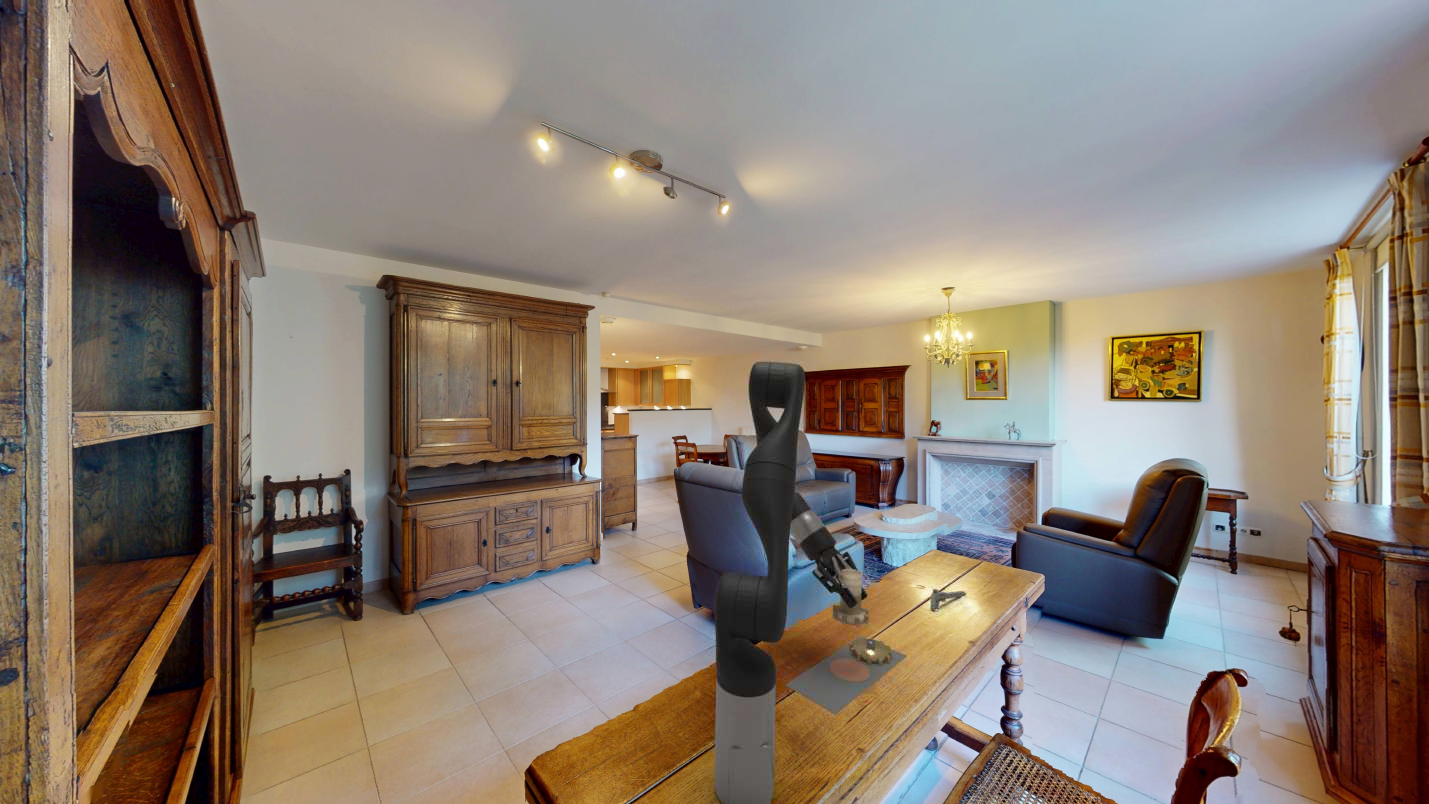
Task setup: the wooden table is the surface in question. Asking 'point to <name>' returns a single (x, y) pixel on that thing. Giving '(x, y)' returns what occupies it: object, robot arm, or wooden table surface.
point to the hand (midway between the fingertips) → (859, 602)
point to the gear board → (840, 678)
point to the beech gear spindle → (855, 586)
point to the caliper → (943, 597)
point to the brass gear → (871, 651)
